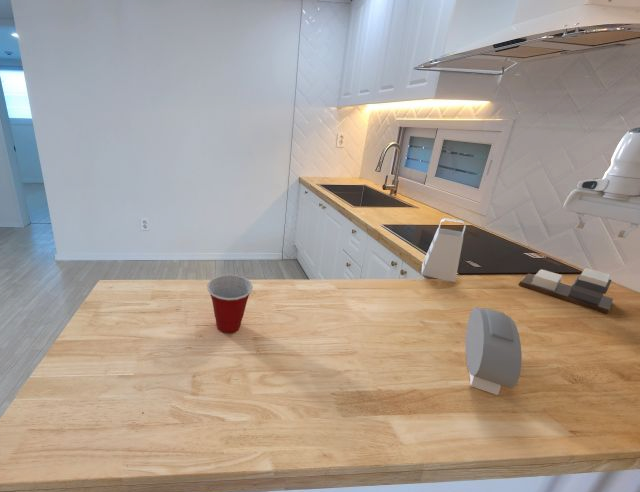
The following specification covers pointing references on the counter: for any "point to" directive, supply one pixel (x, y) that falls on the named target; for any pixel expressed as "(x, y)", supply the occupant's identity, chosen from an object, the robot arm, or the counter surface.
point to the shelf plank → (566, 294)
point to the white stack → (547, 279)
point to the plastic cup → (229, 300)
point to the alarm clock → (492, 350)
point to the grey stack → (588, 291)
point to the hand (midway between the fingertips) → (599, 232)
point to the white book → (595, 277)
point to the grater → (444, 253)
